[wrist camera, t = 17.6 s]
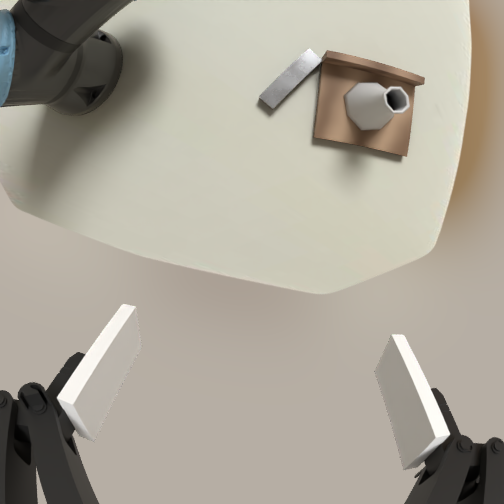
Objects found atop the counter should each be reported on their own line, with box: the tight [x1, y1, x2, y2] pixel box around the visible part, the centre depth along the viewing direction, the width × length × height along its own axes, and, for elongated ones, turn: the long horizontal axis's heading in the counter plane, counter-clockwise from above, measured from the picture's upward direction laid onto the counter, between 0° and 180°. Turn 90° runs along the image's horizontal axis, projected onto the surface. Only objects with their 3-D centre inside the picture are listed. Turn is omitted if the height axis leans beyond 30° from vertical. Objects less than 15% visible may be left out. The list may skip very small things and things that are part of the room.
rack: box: [313, 50, 425, 157], centre depth 34 cm, size 14×12×4 cm
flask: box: [344, 82, 410, 130], centre depth 30 cm, size 7×7×10 cm
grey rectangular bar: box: [259, 49, 322, 109], centre depth 35 cm, size 2×10×2 cm, turn 138°
